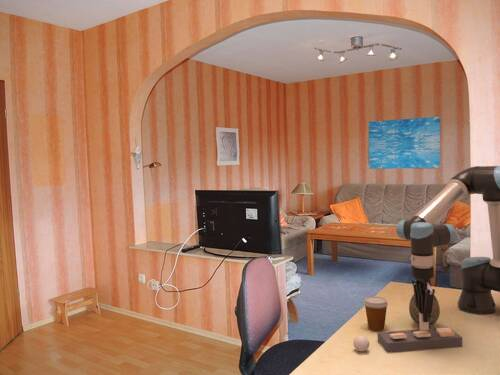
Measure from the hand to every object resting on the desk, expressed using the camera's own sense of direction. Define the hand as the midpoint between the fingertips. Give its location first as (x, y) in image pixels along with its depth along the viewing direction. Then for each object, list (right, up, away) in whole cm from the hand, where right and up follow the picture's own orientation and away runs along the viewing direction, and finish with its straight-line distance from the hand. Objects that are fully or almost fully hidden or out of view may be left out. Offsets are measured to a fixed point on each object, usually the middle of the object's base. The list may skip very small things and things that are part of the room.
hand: (424, 329), depth 160 cm
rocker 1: (-9, -3, +1) cm, 10 cm away
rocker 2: (+9, -2, +2) cm, 9 cm away
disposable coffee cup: (-12, -6, +20) cm, 24 cm away
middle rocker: (0, -2, +2) cm, 3 cm away
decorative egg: (+8, -5, +21) cm, 23 cm away
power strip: (0, -7, +4) cm, 8 cm away
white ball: (-22, -8, +1) cm, 24 cm away
